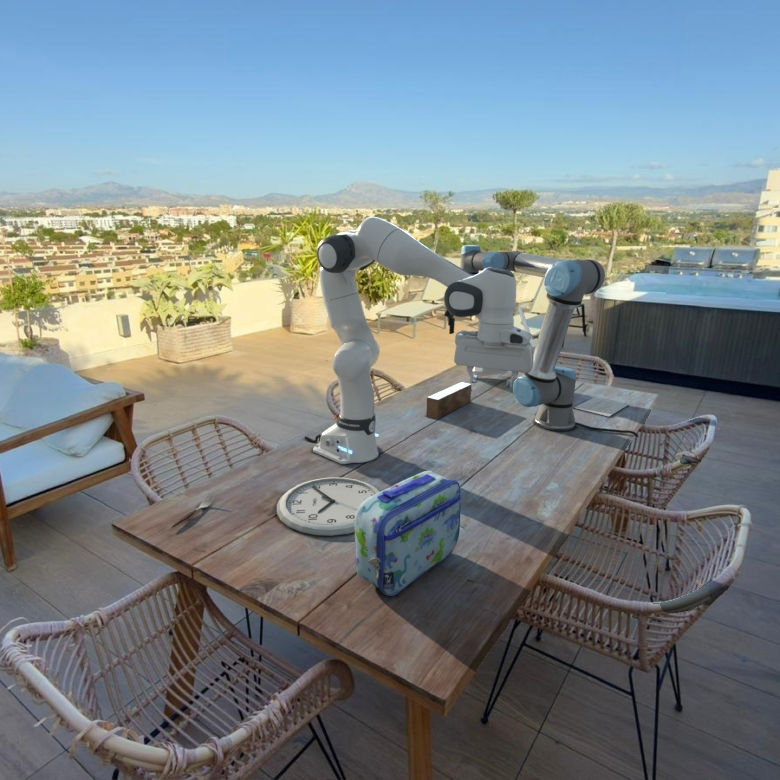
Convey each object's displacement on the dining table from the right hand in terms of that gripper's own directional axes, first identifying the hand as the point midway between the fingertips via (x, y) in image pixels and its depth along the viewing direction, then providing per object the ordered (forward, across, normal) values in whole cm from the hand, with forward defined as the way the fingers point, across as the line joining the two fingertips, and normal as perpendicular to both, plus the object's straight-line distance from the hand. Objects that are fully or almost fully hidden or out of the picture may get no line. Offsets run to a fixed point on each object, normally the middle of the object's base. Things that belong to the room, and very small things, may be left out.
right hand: (465, 335), depth 220 cm
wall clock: (+30, +16, -100) cm, 106 cm away
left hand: (-4, +47, -71) cm, 85 cm away
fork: (+30, -9, -126) cm, 130 cm away
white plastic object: (+30, +3, +39) cm, 49 cm away
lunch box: (+30, +48, -110) cm, 124 cm away
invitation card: (+30, +50, +34) cm, 67 cm away
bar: (+30, 0, -11) cm, 32 cm away
